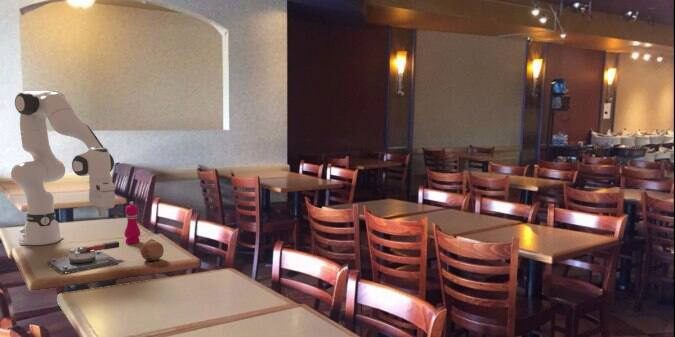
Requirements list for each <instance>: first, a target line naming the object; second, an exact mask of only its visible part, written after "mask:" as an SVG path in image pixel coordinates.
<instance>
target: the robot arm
mask: <svg viewBox="0 0 675 337" xmlns="http://www.w3.org/2000/svg"><path fill="white" fill-rule="evenodd" d="M14 107H15V109H16V111H17V112H18V114H20V115H19V129H20V139H21V146H22V149H23V150H24V151H25V152H27V153H29V154H30V155H31V156H32V158H33V160H31V161H30V160H29V161H24V162H20V163H18V164H15V165H14V166H12V169H11V171H10V177H11V180H12V181H13V183H15V184H16V185H18V187H20V188H21V189H22V191H23V193H24V195H25V198H26V208H27V213H26V222H25V224H24V225H23V228H20V230H19V234H20V236H18V241H19V244H20V245H21V246H22V245H23V246H26V245H27V246H41V245H42V246H43V245H49V244H54V243H57V242H59V241H60V240H64V239H65V238H64V236H63V235H61V230H60V224H59V222H58V221H57V220H56V217H57V216H56V211H55V203H54V202H55V201H54V195H53V194H52V193H51V192H48V191H47V190H46V188H45V185H44V184H47V183H53V182H56V181H58V180H61V179H63V178H64V176H65V174H66V167H65V164H64V163H63V161H61V160H60V159H58V158H57V157H56V156H55V154H54V153H53V151H52V149H51V148H52V147H51V146H50V141H49V140H50V139H49V133H48V127H47V126H48V125H47V120H48V121H49V125H50V126H51V127H52V129H53V131H55V132H56V133H58V134H60V135H63V136H66V137H71V138H74V139H76V140H79V141H81V142H82V143H84V145H85V146H86V147H87V149H88V150H87V151H85V152H84V153H81V154H78V155H75V156H74V157H73V159H72V161H71V169H72V171H73V173H74V174H75V175H77V176H80V177H88V180H89V188H88V190H89V191H88V201H89V204H92V205H94V206H96V207H97V208H96V209H97V211H98V212H97V213H98V216H100V217H105V216H106V211H107V210H108V209H109V210H110V209H113V208H114V207H115V206H116V193H115V192H116V185H115V183H114V182H113V181H112V176H111V175H112V174H111V172H112V171H113V169H114V167H115V160H114V157H113V156H112V155H111V154H110V152H109V149H107V148H106V147H104V146H103V144H102V143H101V141H100V140H99V138H98V137H97V136H96V134H95V132H94V131H93V130H92V129H91V127H90V126H88V124H87V123H85V122H83V121H82V119H80V118H79V116H78V115H77V114H76V112H75V110H74V109H73V107H72V105H71V104H70V102H69V101H68V100H67V98H66V97H65V94H63V93H62V92H59V91H54V90H53V91H49V90H39V91H38V90H37V91H36V90H35V91H22V92H19V93H18V94H16V97H15V99H14Z"/></svg>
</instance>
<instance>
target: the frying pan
mask: <svg viewBox="0 0 675 337" xmlns="http://www.w3.org/2000/svg"><path fill="white" fill-rule="evenodd" d="M117 248H120V242H119V241H109V242H103V243H101V244H93V245H87V246H78V247H77V250H76V249H69V253H68V257H69V261H70V262H72V263H84V262H90V261H93V260H95V259H96V256H95V252H96V251H104V250H111V249H117Z"/></svg>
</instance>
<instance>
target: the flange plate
mask: <svg viewBox="0 0 675 337" xmlns="http://www.w3.org/2000/svg"><path fill="white" fill-rule="evenodd" d="M95 256H96V259H95V260H93V261H90V262H84V263H72V262H70V261H69V256H64V257H59V258H58V257H57V258H54V257H53V258H51V259H48V260H47V264H48V265H49V266H50V265H51V266H52V267H51V266H50V267H51V268H53V267H54V268H55V269H54V268H53V269H54V270H56V271H57V270H58V271H59V272H58V271H57V272H58V273H60V272H61V273H65V272H70V273H73V272H72V271H75V272H78V271H77V270H81V271H83V270H82V269H86V270H89V269H88V268H91V269H95V268H94V267H97V268H100V267H101V266H102V267H106V265H107V266H111V264H113V265H117V264H116V263H118V262H119V261H118V259H117V258H115V257H113V256H111V255H109V254H107V253H105V252H104V251H103V250H98V251H95ZM61 273H60V274H61ZM65 274H66V273H65Z"/></svg>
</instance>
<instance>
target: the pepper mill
mask: <svg viewBox="0 0 675 337" xmlns="http://www.w3.org/2000/svg"><path fill="white" fill-rule="evenodd" d="M124 212H125V214H126V217H125V218H126V219H127V223H126V228H125V229H124V234H123V235H124V237H125V238H126V239H125V244H126V245H135V244H138V243H140V241H141V240H140V238H139V237H140V236H141V229H140V228H139V225H138V223H137V222H138V221H137V220H138V213H139V207H138V206H137V205H135V204H134V201H129V205H127V206H125V209H124Z"/></svg>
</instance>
